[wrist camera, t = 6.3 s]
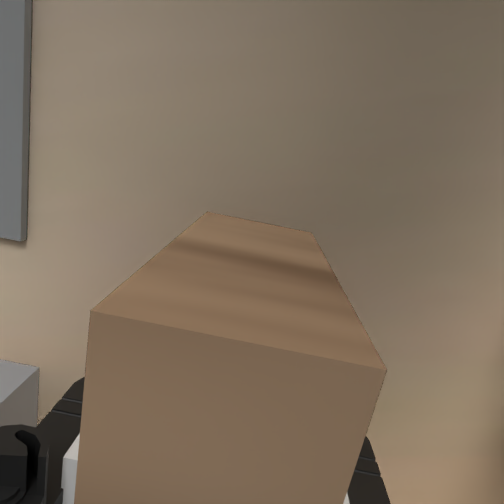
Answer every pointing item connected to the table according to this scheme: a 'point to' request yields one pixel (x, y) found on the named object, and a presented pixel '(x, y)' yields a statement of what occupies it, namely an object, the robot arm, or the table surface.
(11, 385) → the tile
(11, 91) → the pad
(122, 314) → the stepped wooden block
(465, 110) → the table surface
